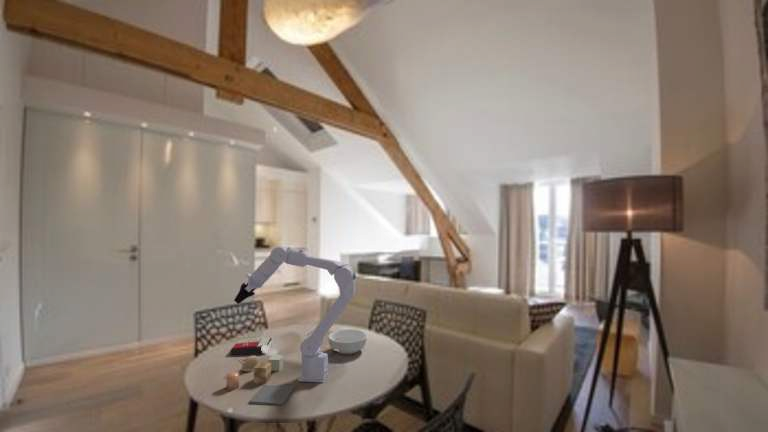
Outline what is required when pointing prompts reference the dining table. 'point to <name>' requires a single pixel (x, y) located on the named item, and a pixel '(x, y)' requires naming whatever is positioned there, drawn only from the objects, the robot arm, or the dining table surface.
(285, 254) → the robot arm
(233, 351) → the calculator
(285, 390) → the slate mat
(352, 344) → the cereal bowl
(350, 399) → the dining table surface
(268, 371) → the oak block
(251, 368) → the cream ribbed piece
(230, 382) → the terracotta cylinder
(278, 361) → the sage block
